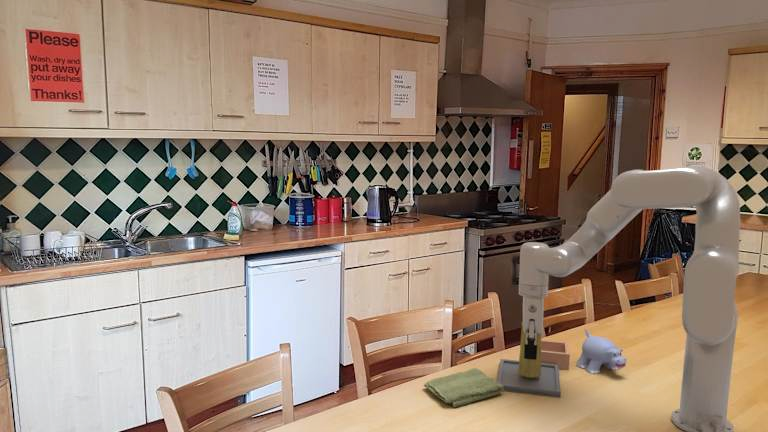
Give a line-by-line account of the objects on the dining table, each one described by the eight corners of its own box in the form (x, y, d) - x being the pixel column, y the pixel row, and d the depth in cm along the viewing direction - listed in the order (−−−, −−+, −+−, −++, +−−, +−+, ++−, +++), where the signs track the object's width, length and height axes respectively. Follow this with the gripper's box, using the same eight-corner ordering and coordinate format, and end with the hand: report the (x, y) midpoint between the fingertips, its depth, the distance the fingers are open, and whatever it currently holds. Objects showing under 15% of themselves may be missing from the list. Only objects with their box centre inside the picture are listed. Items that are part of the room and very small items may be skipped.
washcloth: (421, 389, 153) (421, 377, 152) (477, 376, 161) (477, 365, 160) (448, 410, 141) (448, 397, 141) (507, 395, 149) (508, 383, 148)
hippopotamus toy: (606, 382, 158) (608, 348, 157) (568, 362, 172) (570, 330, 171) (636, 376, 163) (639, 343, 161) (597, 357, 176) (599, 326, 175)
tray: (560, 397, 149) (560, 391, 149) (496, 389, 153) (496, 384, 153) (557, 369, 166) (558, 364, 166) (500, 363, 170) (500, 358, 170)
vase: (541, 379, 155) (544, 327, 153) (518, 377, 157) (520, 325, 155) (540, 370, 161) (542, 320, 159) (517, 368, 163) (519, 318, 161)
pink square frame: (568, 369, 166) (569, 354, 166) (532, 365, 169) (533, 350, 168) (567, 356, 176) (567, 342, 175) (532, 353, 178) (533, 339, 178)
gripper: (548, 299, 147) (545, 368, 149) (547, 282, 163) (544, 344, 166) (517, 296, 148) (515, 365, 151) (519, 280, 165) (517, 342, 167)
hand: (530, 353), depth 158 cm, fingers closed on vase, 5 cm apart
